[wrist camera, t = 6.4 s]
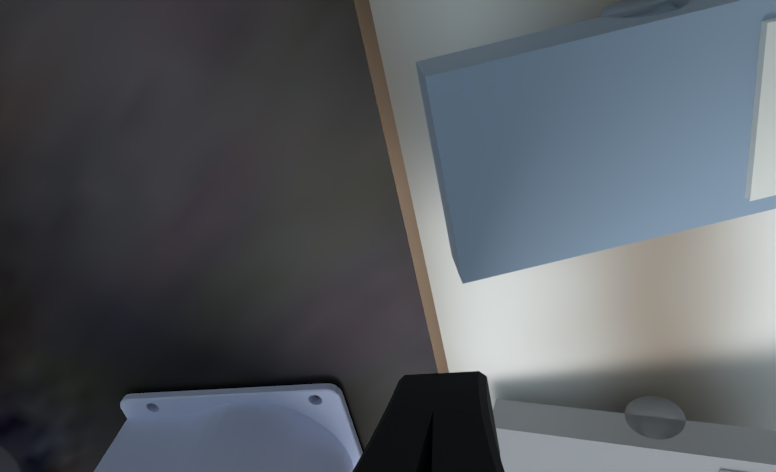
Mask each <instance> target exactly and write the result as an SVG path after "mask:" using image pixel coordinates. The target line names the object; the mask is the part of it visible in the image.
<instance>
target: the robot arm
mask: <svg viewBox="0 0 776 472" xmlns="http://www.w3.org/2000/svg"><path fill="white" fill-rule="evenodd" d="M314 395H316V396H319V397H315V396H314ZM120 407H121V409H122V411H123V413H124V414H125V416H126V418H127V420H126V422H125V423H124V425H123V426H122V428H121V430H120V431H119V433H118V434H117V436H116V437H115V439H114V441H113V442H112V444H111V445H110V447H109V448H108V450H107V452H106V453H105V455H104V456H103V458H102V459H101V461H100V463H99V464H98V466H97V467H96V469H95V471H94V472H505V471H504V468H503V465H502V462H501V458H500V449H499V443H498V438H497V432H496V426H495V420H494V415H493V409H492V403H491V397H490V392H489V386H488V380H487V376H486V375H484V374H483V373H481V372H480V371H472V372H453V373H435V374H417V375H404V376H403V377H402V378H401V379H400V380H399V382H398V384H397V387H396V389H395V391H394V393H393V395H392V398H391V400H390V402H389V404H388V406H387V408H386V410H385V412H384V414H383V416H382V418H381V420H380V422H379V424H378V426H377V428H376V430H375V432H374V433H373V435H372V437H371V439H370V441H369V443H368V445H367V447H366V448H365V450H364V452H362V449H361V446H360V443H359V440H358V437H357V434H356V431H355V428H354V425H353V422H352V419H351V417H350V414H349V411H348V408H347V405H346V402H345V399H344V396H343V393H342V391H341V389H340V388H339V387H337V386H336V385H334V384H330V383H322V384H303V385H284V386H265V387H247V388H228V389H209V390H191V391H172V392H153V393H134V394H127V395H125V396H124V398H123V399H122V401H121V402H120Z"/></svg>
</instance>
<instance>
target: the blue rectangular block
mask: <svg viewBox="0 0 776 472" xmlns="http://www.w3.org/2000/svg"><path fill="white" fill-rule="evenodd" d="M416 67H417V73H418V78H419V83H420V89H421V94H422V99H423V105H424V110H425V115H426V121H427V126H428V131H429V137H430V142H431V147H432V153H433V158H434V163H435V169H436V174H437V179H438V185H439V190H440V195H441V201H442V206H443V211H444V217H445V222H446V227H447V233H448V238H449V243H450V248H451V254H452V258H453V260H454V263H455V265H456V268H457V271H458V273H459V276H460V278H461V281H462V283H463V284H464V283H469V282H473V281H477V280H481V279H485V278H489V277H493V276H498V275H502V274H506V273H510V272H514V271H518V270H523V269H527V268H531V267H535V266H539V265H543V264H548V263H552V262H556V261H560V260H564V259H568V258H573V257H577V256H581V255H585V254H589V253H593V252H597V251H602V250H606V249H610V248H614V247H618V246H622V245H627V244H631V243H635V242H639V241H643V240H647V239H652V238H656V237H660V236H664V235H668V234H672V233H677V232H681V231H685V230H689V229H693V228H697V227H701V226H706V225H710V224H714V223H718V222H722V221H726V220H731V219H735V218H739V217H743V216H747V215H751V214H756V213H760V212H764V211H768V210H772V209H776V0H624V1H620V2H617V3H614V4H612V5H609V6H607V7H606V8H604V9H603V10H602V17H598V18H594V19H590V20H586V21H581V22H577V23H573V24H569V25H565V26H561V27H557V28H553V29H549V30H544V31H540V32H536V33H532V34H528V35H524V36H520V37H516V38H512V39H507V40H503V41H499V42H495V43H491V44H487V45H483V46H479V47H475V48H470V49H466V50H462V51H458V52H454V53H450V54H446V55H442V56H438V57H433V58H429V59H425V60H421V61H417V62H416Z"/></svg>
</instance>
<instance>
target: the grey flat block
mask: <svg viewBox="0 0 776 472" xmlns="http://www.w3.org/2000/svg"><path fill="white" fill-rule="evenodd" d="M493 415H494V420H495V426H496V432H497V438H498V443H499V449H500V458H501V462H502V465H503V468H504V471H505V472H776V430H767V429H758V428H749V427H740V426H732V425H723V424H714V423H705V422H696V421H687V420H686V418H685V415H684V413H683V411H682V410H681V408H680V407H679V406H678V405H676V404H675V403H674V402H672V401H670V400H668V399H665V398H662V397H658V396H643V397H639V398H636V399H634V400H633V401H631V402H630V403H629V404H628V405H627V407H626V409H625V413H617V412H608V411H599V410H590V409H582V408H573V407H564V406H555V405H546V404H538V403H529V402H520V401H511V400H502V399H496V401H495V405H494V408H493Z"/></svg>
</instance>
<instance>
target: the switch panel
mask: <svg viewBox="0 0 776 472" xmlns="http://www.w3.org/2000/svg"><path fill="white" fill-rule="evenodd" d="M620 1H624V0H354V4H355V9H356V13H357V17H358V22H359V26H360V31H361V35H362V39H363V44H364V48H365V53H366V57H367V61H368V66H369V70H370V75H371V79H372V83H373V88H374V92H375V97H376V101H377V105H378V110H379V114H380V119H381V123H382V128H383V132H384V136H385V141H386V145H387V150H388V154H389V158H390V163H391V167H392V172H393V176H394V180H395V185H396V189H397V194H398V198H399V202H400V207H401V211H402V216H403V220H404V224H405V229H406V233H407V238H408V242H409V246H410V251H411V255H412V260H413V264H414V268H415V273H416V277H417V282H418V286H419V290H420V295H421V299H422V304H423V308H424V312H425V317H426V321H427V326H428V330H429V334H430V339H431V343H432V348H433V352H434V356H435V361H436V365H437V370H438V373H453V372H472V371H480V372H481V373H483V374H484V375H486V376H487V380H488V386H489V392H490V397H491V403H492V409H493V408H494V405H495V401H496V399H502V400H511V401H520V402H529V403H538V404H546V405H555V406H564V407H573V408H582V409H590V410H599V411H608V412H617V413H625V409H626V407H627V405H628V404H629V403H630V402H631V401H633V400H634V399H636V398H639V397H643V396H658V397H662V398H665V399H668V400H670V401H672V402H674V403H675V404H676V405H678V406H679V407H680V408H681V410H682V411H683V413H684V415H685V418H686V420H687V421H696V422H705V423H714V424H723V425H732V426H740V427H749V428H758V429H767V430H776V209H772V210H768V211H764V212H760V213H756V214H751V215H747V216H743V217H739V218H735V219H731V220H726V221H722V222H718V223H714V224H710V225H706V226H701V227H697V228H693V229H689V230H685V231H681V232H677V233H672V234H668V235H664V236H660V237H656V238H652V239H647V240H643V241H639V242H635V243H631V244H627V245H622V246H618V247H614V248H610V249H606V250H602V251H597V252H593V253H589V254H585V255H581V256H577V257H573V258H568V259H564V260H560V261H556V262H552V263H548V264H543V265H539V266H535V267H531V268H527V269H523V270H518V271H514V272H510V273H506V274H502V275H498V276H493V277H489V278H485V279H481V280H477V281H473V282H469V283H464V284H463V283H462V281H461V278H460V276H459V273H458V271H457V268H456V265H455V263H454V260H453V258H452V254H451V248H450V243H449V238H448V233H447V227H446V222H445V217H444V211H443V206H442V201H441V195H440V190H439V185H438V179H437V174H436V169H435V163H434V158H433V153H432V147H431V142H430V137H429V131H428V126H427V121H426V115H425V110H424V105H423V99H422V94H421V89H420V83H419V78H418V73H417V67H416V62H417V61H421V60H425V59H429V58H433V57H438V56H442V55H446V54H450V53H454V52H458V51H462V50H466V49H470V48H475V47H479V46H483V45H487V44H491V43H495V42H499V41H503V40H507V39H512V38H516V37H520V36H524V35H528V34H532V33H536V32H540V31H544V30H549V29H553V28H557V27H561V26H565V25H569V24H573V23H577V22H581V21H586V20H590V19H594V18H598V17H602V10H603V9H604V8H606V7H607V6H609V5H612V4H614V3H617V2H620Z"/></svg>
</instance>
